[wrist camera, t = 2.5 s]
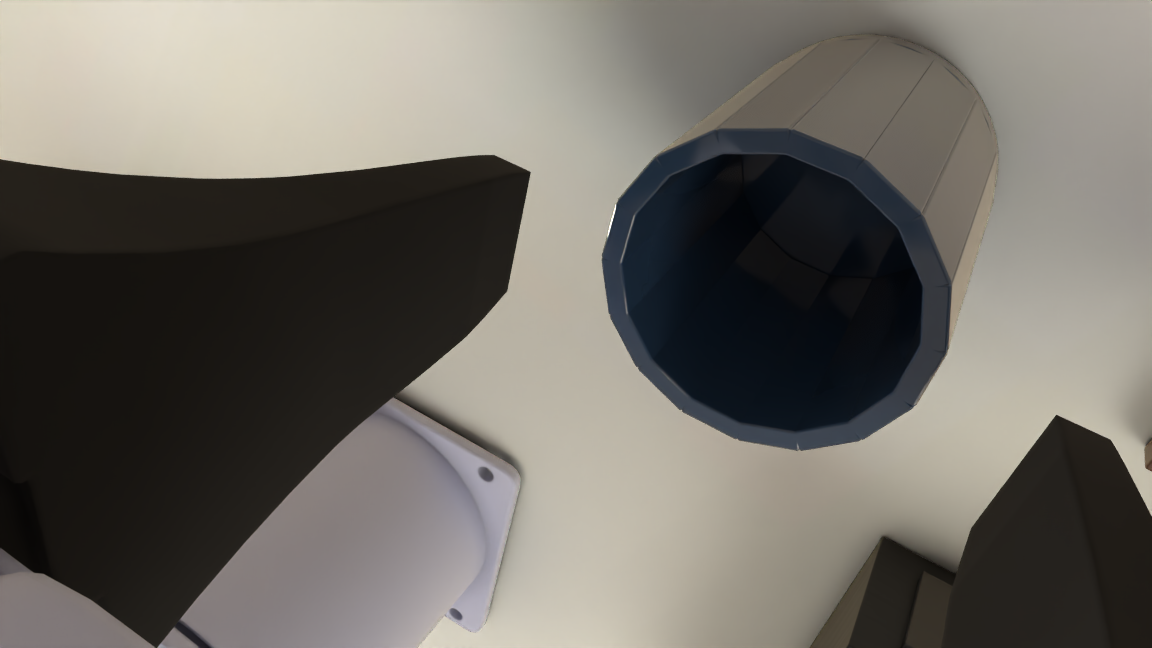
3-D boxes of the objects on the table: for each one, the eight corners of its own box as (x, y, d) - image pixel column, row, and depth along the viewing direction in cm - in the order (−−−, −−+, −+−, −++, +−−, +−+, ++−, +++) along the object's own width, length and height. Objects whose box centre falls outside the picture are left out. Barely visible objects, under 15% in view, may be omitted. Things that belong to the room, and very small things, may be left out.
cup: (704, 222, 19) (573, 356, 14) (783, -5, 16) (650, 73, 11) (924, 321, 17) (857, 504, 13) (1053, 92, 15) (1025, 223, 10)
